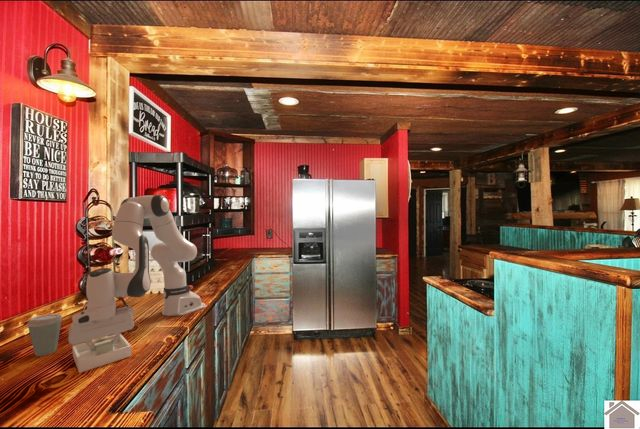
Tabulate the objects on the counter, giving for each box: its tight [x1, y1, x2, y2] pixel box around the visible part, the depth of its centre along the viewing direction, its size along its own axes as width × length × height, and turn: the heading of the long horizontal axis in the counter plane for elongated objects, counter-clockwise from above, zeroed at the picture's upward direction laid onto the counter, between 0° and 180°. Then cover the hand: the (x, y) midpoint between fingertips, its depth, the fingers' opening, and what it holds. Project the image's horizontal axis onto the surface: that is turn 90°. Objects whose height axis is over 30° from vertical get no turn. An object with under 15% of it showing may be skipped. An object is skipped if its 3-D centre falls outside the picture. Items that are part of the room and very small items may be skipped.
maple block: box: [91, 335, 109, 354], centre depth 119 cm, size 5×5×5 cm
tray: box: [71, 332, 132, 373], centre depth 117 cm, size 16×18×4 cm
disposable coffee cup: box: [26, 313, 63, 357], centre depth 120 cm, size 11×11×15 cm
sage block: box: [94, 340, 113, 356], centre depth 114 cm, size 5×5×5 cm
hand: (103, 347), depth 114 cm, fingers open, 5 cm apart
